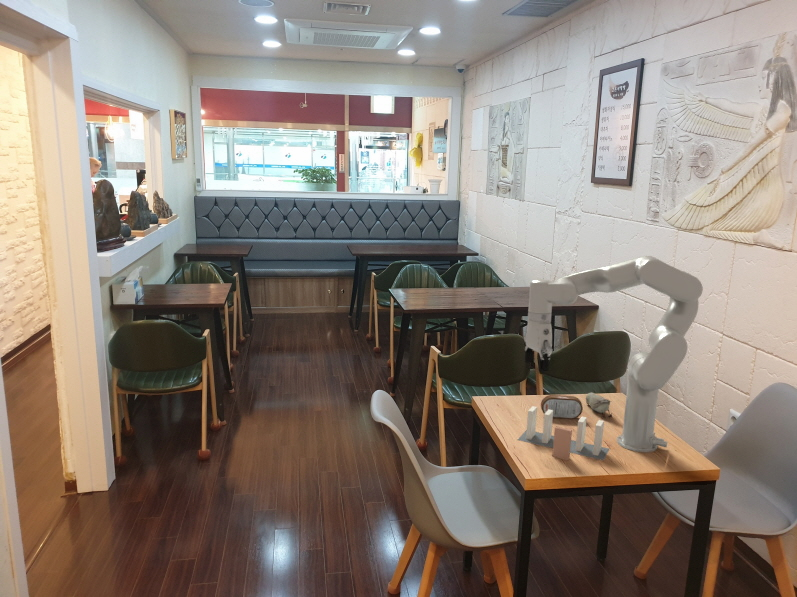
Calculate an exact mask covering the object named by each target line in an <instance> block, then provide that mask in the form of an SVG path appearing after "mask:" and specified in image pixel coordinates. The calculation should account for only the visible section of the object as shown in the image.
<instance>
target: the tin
mask: <svg viewBox="0 0 797 597" xmlns="http://www.w3.org/2000/svg"><path fill="white" fill-rule="evenodd" d="M540 409H541V411H542V413H543V415H544V414H545V413H546V412H547V411H548V409H549V410H553V419H564V420H575V419H577V418H579V417H580V416H581V415H582V413H583V403H582V401H581V400H580V399H579V398H578V397H576V396H573V395H558V394H549V395H546V396H545V397H544V398H542V399H541V402H540Z"/></svg>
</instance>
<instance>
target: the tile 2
mask: <svg viewBox="0 0 797 597" xmlns="http://www.w3.org/2000/svg"><path fill="white" fill-rule="evenodd" d="M553 419H554V418H553V410H549V409H548V411H547V412H546V413H545V414H544V413H543V428H542V433H543V437H542V443H546V444H547V443H548V441H549V440H550V439H551V435H552V430H553Z"/></svg>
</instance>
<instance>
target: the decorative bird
mask: <svg viewBox="0 0 797 597" xmlns="http://www.w3.org/2000/svg"><path fill="white" fill-rule="evenodd" d="M585 396H586V397H585V402H586V405H587V404H588V406H590V409H591V410H593V411H595V412H597V413H600V414H602V415H601V417H600V419H606V412H608V414H609V415H608V416H607V418H613V416H612V415H613V413H612V412H610V404H611V402H612V401H611V400H609V399H607V398H605V397H603V396H601V395H598V394H596V393H594V392H588V393H587V394H586V395H585Z"/></svg>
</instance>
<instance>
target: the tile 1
mask: <svg viewBox="0 0 797 597" xmlns="http://www.w3.org/2000/svg"><path fill="white" fill-rule="evenodd" d="M537 414H538V406H533V405H532V406H531V407H530V408H529V409H528V410H527V422H526V430H527V433H526V439H530V440H531V439H532V438H533V437H534V435H535V432H536V429H537V428H536V426H537Z"/></svg>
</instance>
